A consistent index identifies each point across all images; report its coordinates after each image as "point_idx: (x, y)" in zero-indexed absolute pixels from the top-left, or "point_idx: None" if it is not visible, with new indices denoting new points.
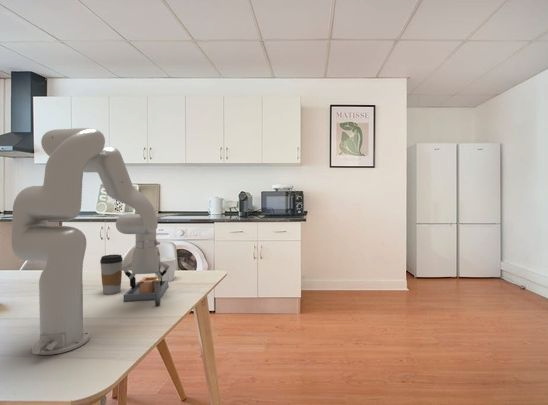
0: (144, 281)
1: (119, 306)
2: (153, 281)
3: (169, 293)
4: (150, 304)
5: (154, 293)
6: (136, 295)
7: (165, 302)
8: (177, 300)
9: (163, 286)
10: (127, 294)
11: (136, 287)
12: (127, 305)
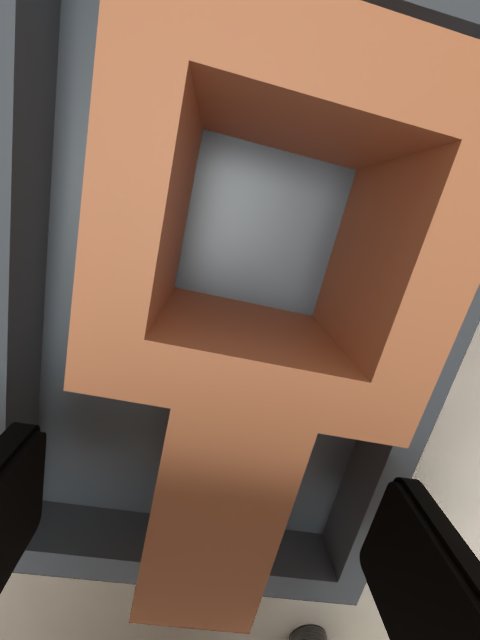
0: (172, 410)
1: (13, 593)
2: (339, 434)
3: (449, 396)
4: (257, 610)
5: (306, 598)
6: (121, 573)
7: (369, 600)
8: None
9: (443, 378)
10: None
11: (39, 120)
12: (76, 589)
